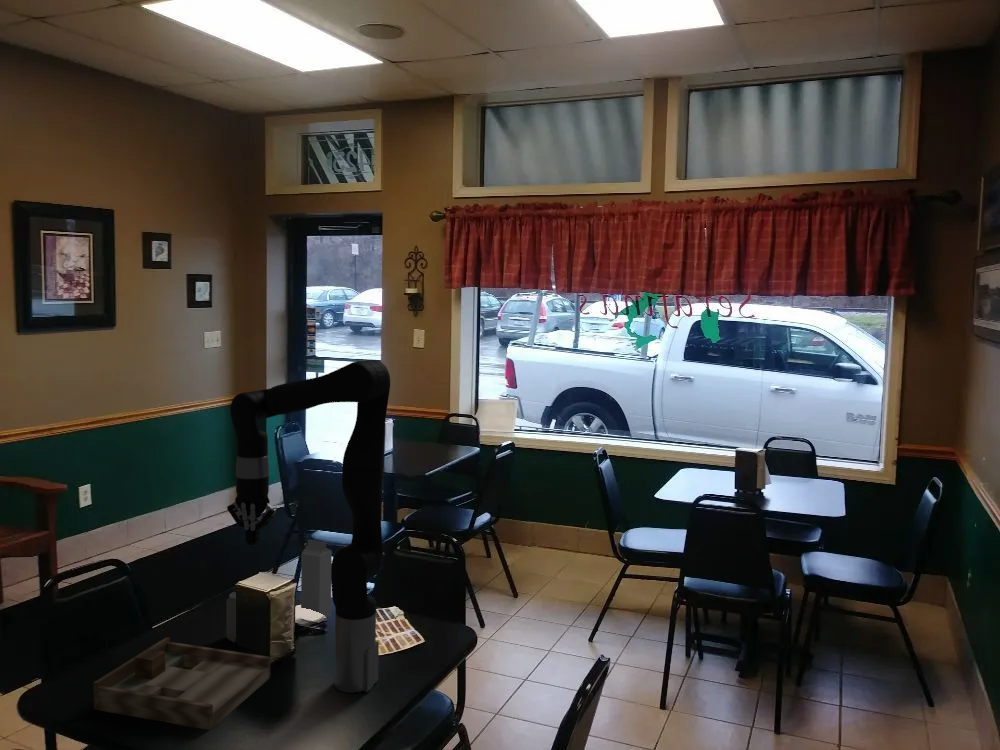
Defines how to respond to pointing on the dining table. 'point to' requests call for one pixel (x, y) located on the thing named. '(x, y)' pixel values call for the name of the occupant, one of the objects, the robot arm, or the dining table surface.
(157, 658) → the block
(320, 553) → the milk
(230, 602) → the can
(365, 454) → the robot arm
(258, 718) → the dining table surface
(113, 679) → the compartment tray
